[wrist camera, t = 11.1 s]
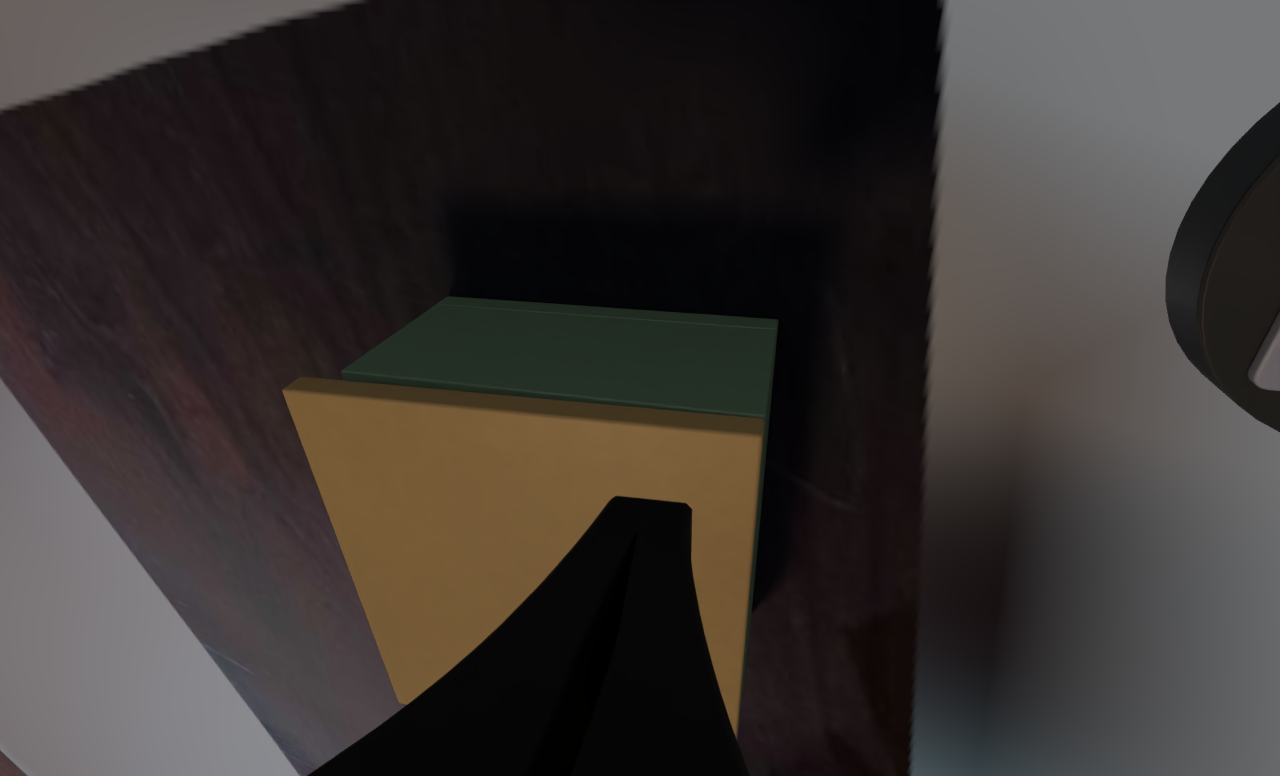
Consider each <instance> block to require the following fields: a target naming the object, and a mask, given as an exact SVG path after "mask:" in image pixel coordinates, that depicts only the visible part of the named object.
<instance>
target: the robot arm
mask: <svg viewBox="0 0 1280 776" xmlns="http://www.w3.org/2000/svg"><path fill="white" fill-rule="evenodd" d="M1247 375H1248V378H1249V380H1250V381H1251V382H1253V383H1254V384H1255V385H1257V386H1258V387H1259V388H1261V389H1265V390H1274V391H1280V311H1279V313H1278V315H1277V317H1276V319H1275V321H1274V323H1273V324H1272V326H1271V328H1270V330H1269V332H1268V334H1267V336H1266V338H1265V339H1264V341H1263V343H1262V345H1261V347H1260V349H1259V351H1258V353H1257V354H1256V356H1255V358H1254V360H1253V362H1252V364H1251V366H1250V368H1249V370H1248V374H1247ZM691 553H692V508H691V507H690V506H689V505H688V504H687V503H682V502H672V501H663V500H653V499H644V498H634V497H624V496H615V497H613V498H612V499H610V500H609V502H608V503H607V504H606V506H605V507H604V508H603V510H602V511H601V512H600V514H599V515H598V516H597V518H596V519H595V520H594V522H593V523H592V524H591V525H590V527H589V528H588V529H587V530H586V532H585V533H584V534H583V535H582V537H581V538H580V539H579V540H578V541H577V543H576V544H575V545H574V546H573V547H572V549H571V550H570V551H569V552H568V553H567V554H566V556H565V557H564V558H563V559H562V560H561V561H560V562H559V564H558V565H557V566H556V567H555V568H554V569H553V570H552V571H551V573H550V574H549V575H548V576H547V577H546V578H545V579H544V580H543V582H542V583H541V584H540V585H539V586H538V587H537V588H536V589H535V590H534V591H533V592H532V593H531V594H530V595H529V596H528V597H527V598H526V599H525V600H524V601H523V602H522V603H521V604H520V605H519V606H518V607H517V608H516V609H515V610H514V612H513V613H512V614H511V615H510V616H509V617H508V618H507V619H506V620H505V621H504V622H503V623H502V624H501V625H500V626H499V627H497V628H496V629H495V630H494V631H493V632H492V633H491V634H490V635H489V636H488V637H487V638H486V639H485V640H484V641H483V642H481V643H480V644H479V645H478V646H477V647H476V648H475V649H474V650H473V651H472V652H470V653H469V654H468V655H467V656H466V657H465V658H463V659H462V660H461V661H460V662H459V663H458V664H457V665H455V666H454V667H453V668H452V669H451V670H450V671H448V672H447V673H446V674H445V675H444V676H442V677H441V678H440V679H439V680H437V681H436V682H435V683H434V684H432V685H431V686H430V687H429V688H427V689H426V690H425V691H424V692H422V693H421V694H420V695H419V696H417V697H416V698H415V699H414V700H413V701H411V702H410V703H409V704H408V705H406V706H405V707H404V708H402V709H401V710H400V711H398V712H397V713H396V714H394V715H393V716H392V717H390V718H389V719H388V720H386V721H385V722H384V723H382V724H381V725H380V726H378V727H377V728H376V729H374V730H373V731H371V732H370V733H368V734H367V735H366V736H364V737H363V738H361V739H360V740H358V741H357V742H355V743H354V744H353V745H351V746H350V747H348V748H347V749H345V750H344V751H342V752H341V753H339V754H338V755H337V756H335V757H334V758H332V759H331V760H329V761H328V762H326V763H325V764H324V765H322V766H321V767H319V768H318V769H316V770H315V771H313V772H312V773H311V774H309V775H308V776H750V775H749V772H748V770H747V767H746V765H745V762H744V759H743V756H742V754H741V751H740V748H739V745H738V742H737V739H736V737H735V734H734V731H733V728H732V725H731V722H730V719H729V716H728V713H727V710H726V707H725V704H724V701H723V698H722V695H721V691H720V688H719V685H718V681H717V678H716V674H715V671H714V667H713V664H712V660H711V656H710V652H709V649H708V645H707V641H706V637H705V633H704V629H703V624H702V620H701V615H700V611H699V605H698V600H697V594H696V589H695V583H694V577H693V570H692V562H691Z"/></svg>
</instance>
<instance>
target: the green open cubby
mask: <svg viewBox="0 0 1280 776" xmlns="http://www.w3.org/2000/svg"><path fill="white" fill-rule="evenodd" d="M777 332H778V320H777V319H765V318H750V317H736V316H722V315H707V314H693V313H679V312H665V311H650V310H636V309H622V308H607V307H593V306H579V305H565V304H550V303H536V302H522V301H507V300H493V299H479V298H465V297H450V296H448V297H446V298H445V299H443V300H442V301H441V302H439V303H438V304H437V305H435V306H434V307H432V308H431V309H429V310H428V311H426V312H425V313H423V314H422V315H421V316H419V317H418V318H416V319H415V320H413V321H412V322H411V323H409V324H408V325H406V326H405V327H403V328H402V329H401V330H399V331H398V332H396V333H395V334H393V335H392V336H391V337H389V338H388V339H386V340H385V341H383V342H382V343H380V344H379V345H378V346H376V347H375V348H373V349H372V350H370V351H369V352H368V353H366V354H365V355H363V356H362V357H360V358H359V359H358V360H356V361H355V362H353V363H352V364H350V365H349V366H348V367H346V368H345V369H343V370H342V376H343V379H344V381H355V382H366V383H377V384H388V385H399V386H410V387H421V388H432V389H443V390H454V391H465V392H476V393H487V394H498V395H509V396H520V397H531V398H542V399H553V400H564V401H575V402H586V403H597V404H608V405H619V406H630V407H641V408H652V409H663V410H674V411H685V412H696V413H707V414H718V415H729V416H740V417H751V418H761V419H763V421H764V432H763V444H762V456H761V467H760V479H759V490H758V502H757V513H756V525H755V536H754V548H753V559H752V571H751V582H750V594H749V605H748V617H747V628H746V640H745V651H744V663H743V674H742V686H741V697H740V709H739V720H738V729H739V721H740V712H741V703H742V694H743V686H744V677H745V668H746V659H747V650H748V642H749V633H750V624H751V615H752V604H753V593H754V583H755V572H756V561H757V550H758V539H759V528H760V517H761V506H762V495H763V484H764V473H765V463H766V452H767V441H768V430H769V419H770V408H771V397H772V386H773V375H774V364H775V353H776V342H777ZM737 738H738V732H737Z"/></svg>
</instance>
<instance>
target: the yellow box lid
mask: <svg viewBox="0 0 1280 776" xmlns="http://www.w3.org/2000/svg"><path fill="white" fill-rule="evenodd" d="M283 394H284V397H285V400H286V402H287V405H288V408H289V410H290V413H291V416H292V418H293V421H294V424H295V426H296V429H297V432H298V434H299V437H300V440H301V442H302V445H303V448H304V450H305V453H306V456H307V458H308V461H309V464H310V466H311V469H312V472H313V474H314V477H315V480H316V482H317V485H318V488H319V490H320V493H321V496H322V498H323V501H324V504H325V506H326V509H327V512H328V514H329V517H330V520H331V523H332V525H333V528H334V531H335V533H336V536H337V539H338V541H339V544H340V547H341V549H342V552H343V555H344V557H345V560H346V563H347V565H348V568H349V571H350V573H351V576H352V579H353V581H354V584H355V587H356V589H357V592H358V595H359V597H360V600H361V603H362V605H363V608H364V611H365V613H366V616H367V619H368V621H369V624H370V627H371V629H372V632H373V635H374V637H375V640H376V643H377V645H378V648H379V651H380V653H381V656H382V659H383V661H384V664H385V667H386V670H387V672H388V675H389V678H390V680H391V683H392V686H393V688H394V691H395V694H396V696H397V699H398V702H399V703H402V704H407V705H408V704H409V703H410V702H411V701H413V700H414V699H415V698H416V697H417V696H419V695H420V694H421V693H422V692H424V691H425V690H426V689H427V688H429V687H430V686H431V685H432V684H434V683H435V682H436V681H437V680H439V679H440V678H441V677H442V676H444V675H445V674H446V673H447V672H448V671H450V670H451V669H452V668H453V667H454V666H455V665H457V664H458V663H459V662H460V661H461V660H462V659H463V658H465V657H466V656H467V655H468V654H469V653H470V652H472V651H473V650H474V649H475V648H476V647H477V646H478V645H479V644H480V643H481V642H483V641H484V640H485V639H486V638H487V637H488V636H489V635H490V634H491V633H492V632H493V631H494V630H495V629H496V628H497V627H499V626H500V625H501V624H502V623H503V622H504V621H505V620H506V619H507V618H508V617H509V616H510V615H511V614H512V613H513V612H514V610H515V609H516V608H517V607H518V606H519V605H520V604H521V603H522V602H523V601H524V600H525V599H526V598H527V597H528V596H529V595H530V594H531V593H532V592H533V591H534V590H535V589H536V588H537V587H538V586H539V585H540V584H541V583H542V582H543V580H544V579H545V578H546V577H547V576H548V575H549V574H550V573H551V571H552V570H553V569H554V568H555V567H556V566H557V565H558V564H559V562H560V561H561V560H562V559H563V558H564V557H565V556H566V554H567V553H568V552H569V551H570V550H571V549H572V547H573V546H574V545H575V544H576V543H577V541H578V540H579V539H580V538H581V537H582V535H583V534H584V533H585V532H586V530H587V529H588V528H589V527H590V525H591V524H592V523H593V522H594V520H595V519H596V518H597V516H598V515H599V514H600V512H601V511H602V510H603V508H604V507H605V506H606V504H607V503H608V502H609V500H610V499H612V498H613V497H615V496H624V497H634V498H644V499H653V500H663V501H672V502H682V503H687V504H688V505H689V506H690V507H691V508H692V553H691V562H692V570H693V577H694V583H695V589H696V594H697V600H698V605H699V611H700V615H701V620H702V624H703V629H704V633H705V637H706V641H707V645H708V649H709V652H710V656H711V660H712V664H713V667H714V671H715V674H716V678H717V681H718V685H719V688H720V691H721V695H722V698H723V701H724V704H725V707H726V710H727V713H728V716H729V719H730V722H731V725H732V728H733V731H734V734H735V737H736V739H737V732H738V720H739V709H740V697H741V686H742V674H743V663H744V651H745V640H746V628H747V617H748V605H749V594H750V582H751V571H752V559H753V548H754V536H755V525H756V513H757V502H758V490H759V479H760V467H761V456H762V444H763V432H764V421H763V419H761V418H751V417H740V416H729V415H718V414H707V413H696V412H685V411H674V410H663V409H652V408H641V407H630V406H619V405H608V404H597V403H586V402H575V401H564V400H553V399H542V398H531V397H520V396H509V395H498V394H487V393H476V392H465V391H454V390H443V389H432V388H421V387H410V386H399V385H388V384H377V383H366V382H355V381H344V380H333V379H322V378H311V377H301V378H299V379H297V380H296V381H294V382H293V383H291V384H290V385H288V386H287V387H286V388H284V389H283Z"/></svg>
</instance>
